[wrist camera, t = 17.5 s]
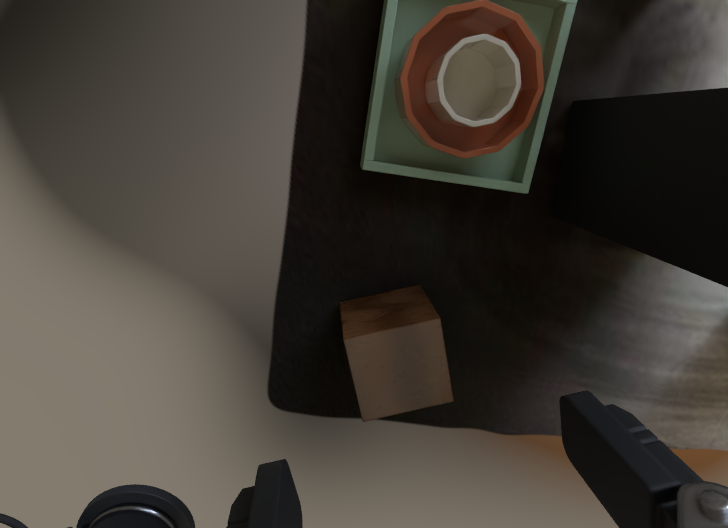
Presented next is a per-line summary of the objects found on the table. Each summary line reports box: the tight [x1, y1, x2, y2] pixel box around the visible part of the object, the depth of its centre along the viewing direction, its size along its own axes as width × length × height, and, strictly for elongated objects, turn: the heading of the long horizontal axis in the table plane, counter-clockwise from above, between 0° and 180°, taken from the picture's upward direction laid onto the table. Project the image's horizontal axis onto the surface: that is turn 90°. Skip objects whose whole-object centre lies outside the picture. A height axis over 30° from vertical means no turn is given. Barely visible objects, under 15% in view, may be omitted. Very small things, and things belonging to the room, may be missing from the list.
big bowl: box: [394, 0, 544, 159], centre depth 36 cm, size 11×11×4 cm
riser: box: [340, 285, 454, 422], centre depth 41 cm, size 8×8×8 cm
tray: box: [360, 0, 577, 194], centre depth 37 cm, size 16×15×3 cm
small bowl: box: [425, 34, 521, 127], centre depth 35 cm, size 6×6×4 cm
